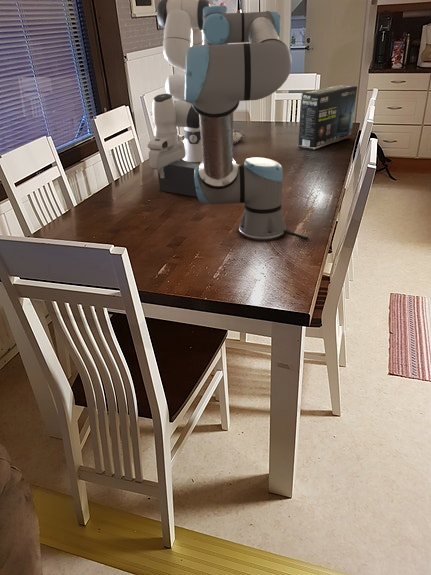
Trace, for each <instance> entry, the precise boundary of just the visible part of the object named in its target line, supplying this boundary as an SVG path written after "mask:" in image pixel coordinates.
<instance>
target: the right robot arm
mask: <svg viewBox="0 0 431 575" xmlns="http://www.w3.org/2000/svg"><path fill="white" fill-rule="evenodd" d="M281 27H282V20H281V14H280V12H278V11H270V10H266V11H253V12H251V11H249V12H228V7H227V6H226V5H210V6H206V7H204V8H203V25H202V31H203V40H204V44H203V45H199V46H192V47H190V48H189V49H188V50H187V52H186V62H185V72H184V73H185V101H186V102H187V103H190V104H192V106H193V108H194V110H195V111H196V112H197V113H198V114H199V121H200V133H201V144H202V156H203V160H202V162H199V164H200V166H197V167H196V168H195V172H194V178H195V187H196V193H197V197H196V198H197V199H198V201H199V203H201V204H203V205H227V204H244V211H243V213H242V216H241V220H240V222H239V226H238V232H239V235H240V236H241V237H242V238H244V239H247V240H250V241H254V242H271V241H277V240H279V239H281V238H283V237H285V235H289V236H293V237H296V238H298V239H302V240H305V241H308V240H309V237H308V236H305V235H301V234H299V233H296V232H293V231H289V230H287V223H286V221H285V216H284V214H283V210H282V200H283V182H284V177H283V176H284V175H283V173H284V172H283V171H284V170H283V166H282V164H280V162H278V161H276V160H274V159H270V158H265V157H250V158H245V159H244V162H243V164H238V163H237V162H236V161H235V159H234V144H233V128H234V113H235V112H236V110H238V107H239V106H240V102H245V101H247V102H249V101H259V100H262V99H264V98H267V97H269V96H270V95H273V94H274V93H275V92H277V91H278V90H279V89H281V87H282V86H283V85H284V84H285V83H286V82H287V80H288V78H289V76H290V73H291V71H292V64H293V59H292V55H291V52H290V49H289V48H288V46H287V44H285V42H283V40H281V39H280V37H281V31H282V30H281Z"/></svg>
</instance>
